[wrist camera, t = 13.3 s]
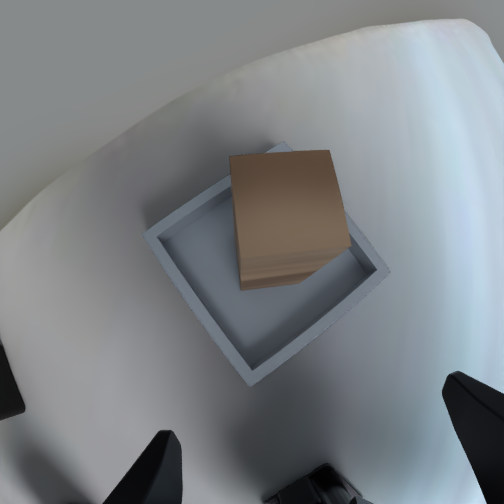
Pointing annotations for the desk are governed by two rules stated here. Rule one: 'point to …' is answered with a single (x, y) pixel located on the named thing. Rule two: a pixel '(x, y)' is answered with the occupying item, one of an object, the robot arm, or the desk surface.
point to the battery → (8, 391)
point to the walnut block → (285, 216)
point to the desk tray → (256, 300)
